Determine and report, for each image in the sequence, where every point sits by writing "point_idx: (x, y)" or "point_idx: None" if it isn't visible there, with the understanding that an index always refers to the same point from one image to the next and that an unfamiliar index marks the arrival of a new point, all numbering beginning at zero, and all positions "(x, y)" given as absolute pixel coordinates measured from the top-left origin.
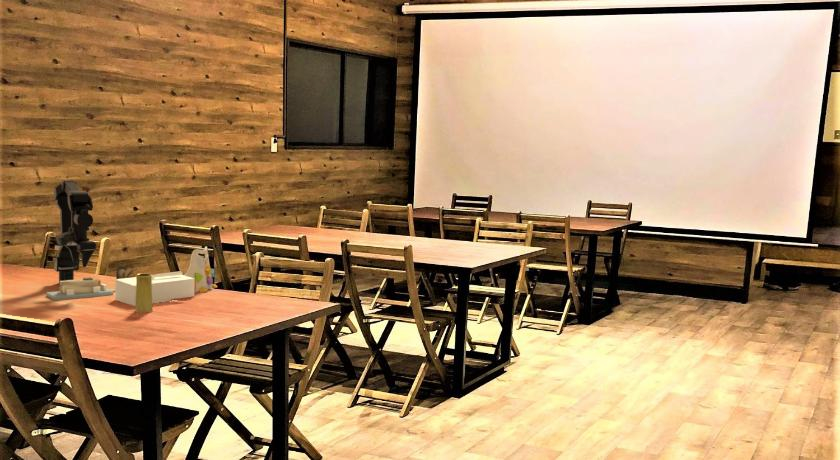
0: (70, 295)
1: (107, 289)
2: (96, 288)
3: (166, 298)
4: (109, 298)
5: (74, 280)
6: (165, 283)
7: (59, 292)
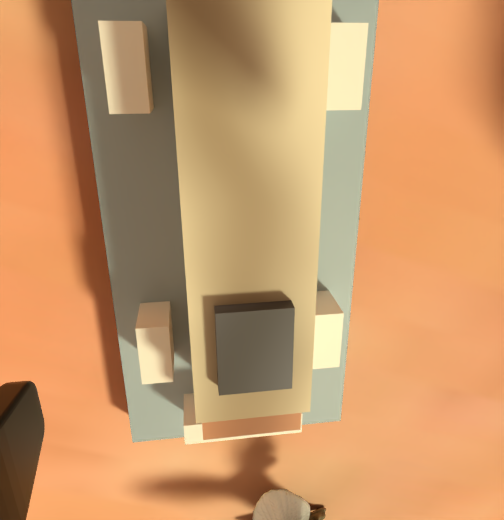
0: (86, 55)
1: None
2: (140, 346)
3: None
4: (7, 365)
5: (270, 189)
6: None
7: None
